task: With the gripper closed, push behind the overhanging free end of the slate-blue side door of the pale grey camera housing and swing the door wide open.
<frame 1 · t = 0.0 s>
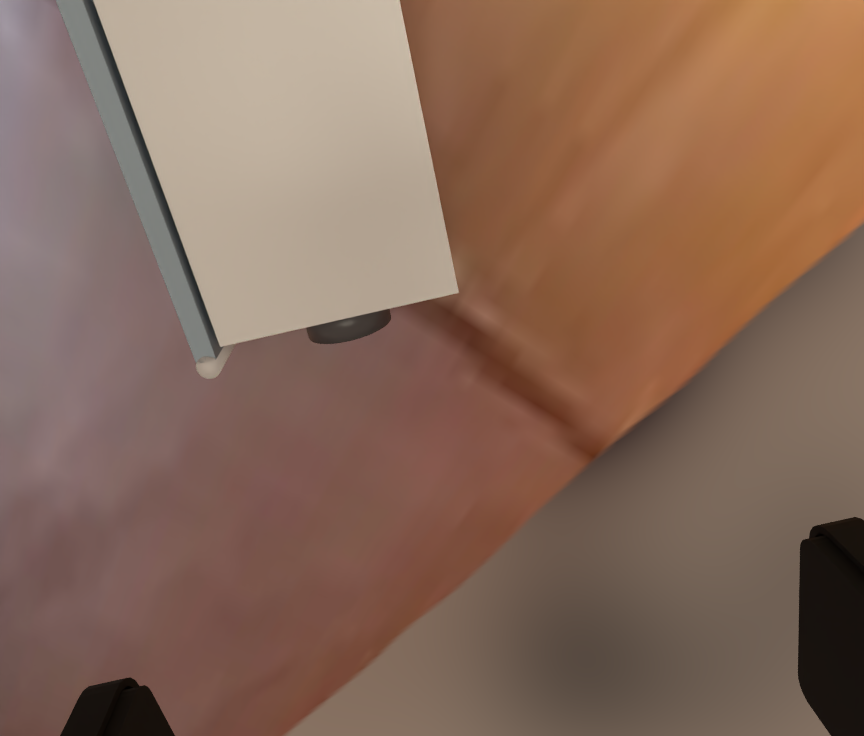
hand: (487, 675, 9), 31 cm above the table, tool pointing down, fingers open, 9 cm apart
camera housing: (307, 141, 36), on the table
side door: (119, 82, 31), point 4 cm above the table, hinge at 0.0°
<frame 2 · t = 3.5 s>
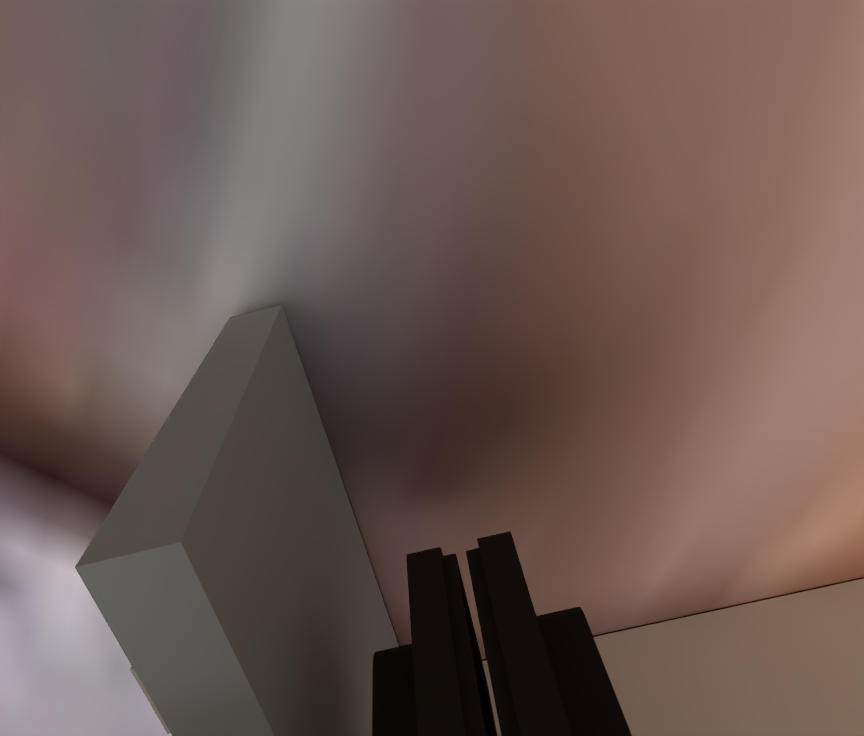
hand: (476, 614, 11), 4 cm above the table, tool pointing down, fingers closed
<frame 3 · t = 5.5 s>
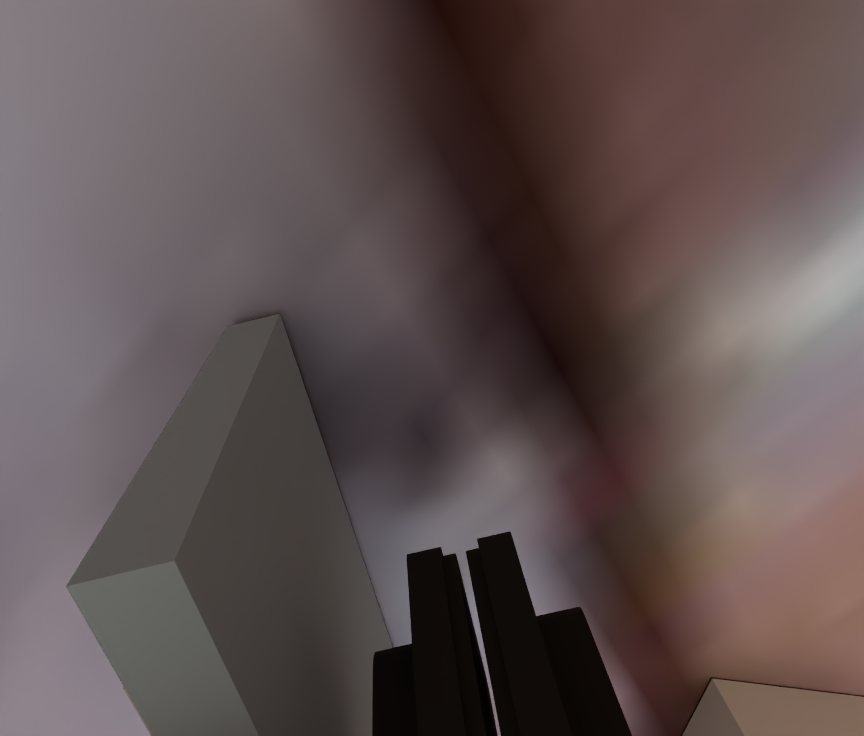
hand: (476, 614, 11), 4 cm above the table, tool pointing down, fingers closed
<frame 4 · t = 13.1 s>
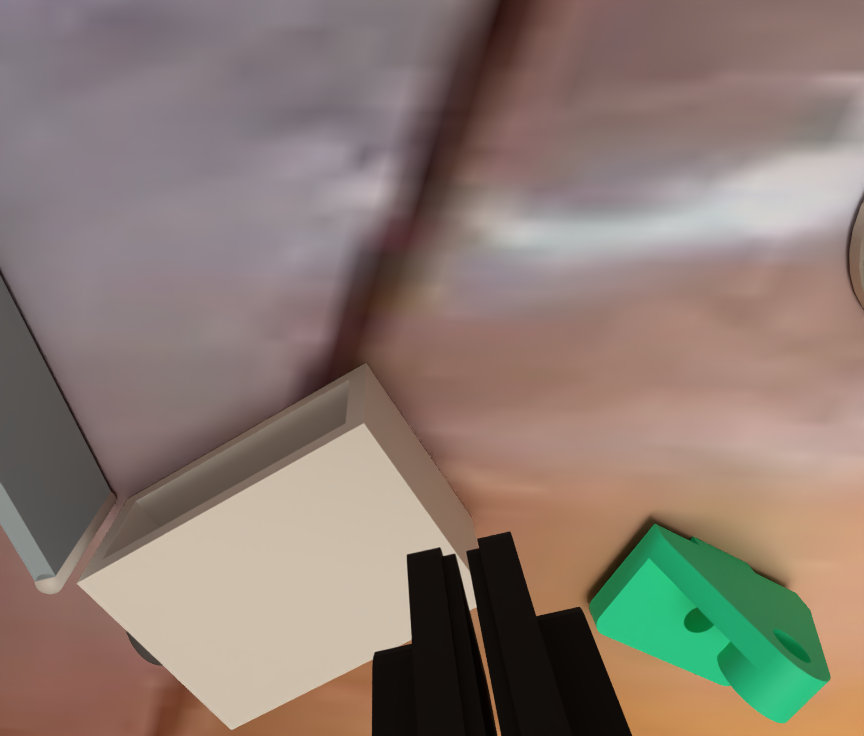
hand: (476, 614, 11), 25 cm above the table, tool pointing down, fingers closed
camera mount: (681, 588, 44), on the table
camera housing: (304, 509, 39), on the table
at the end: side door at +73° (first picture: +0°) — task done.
